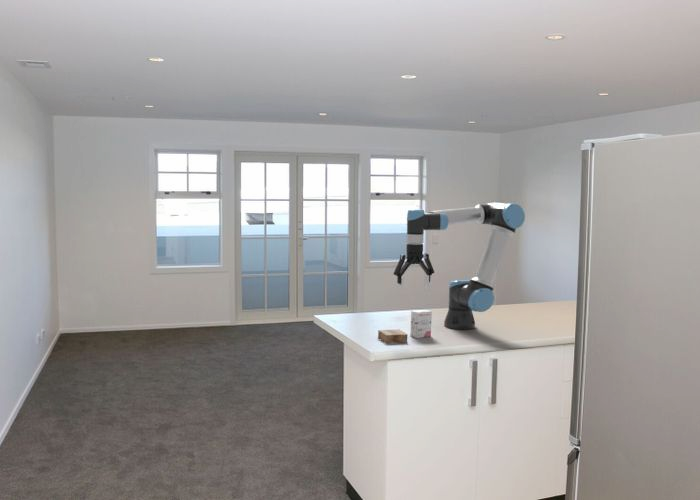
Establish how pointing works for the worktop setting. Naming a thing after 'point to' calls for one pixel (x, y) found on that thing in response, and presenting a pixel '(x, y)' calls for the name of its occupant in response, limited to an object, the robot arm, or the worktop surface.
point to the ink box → (421, 323)
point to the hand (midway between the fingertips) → (413, 290)
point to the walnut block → (392, 336)
